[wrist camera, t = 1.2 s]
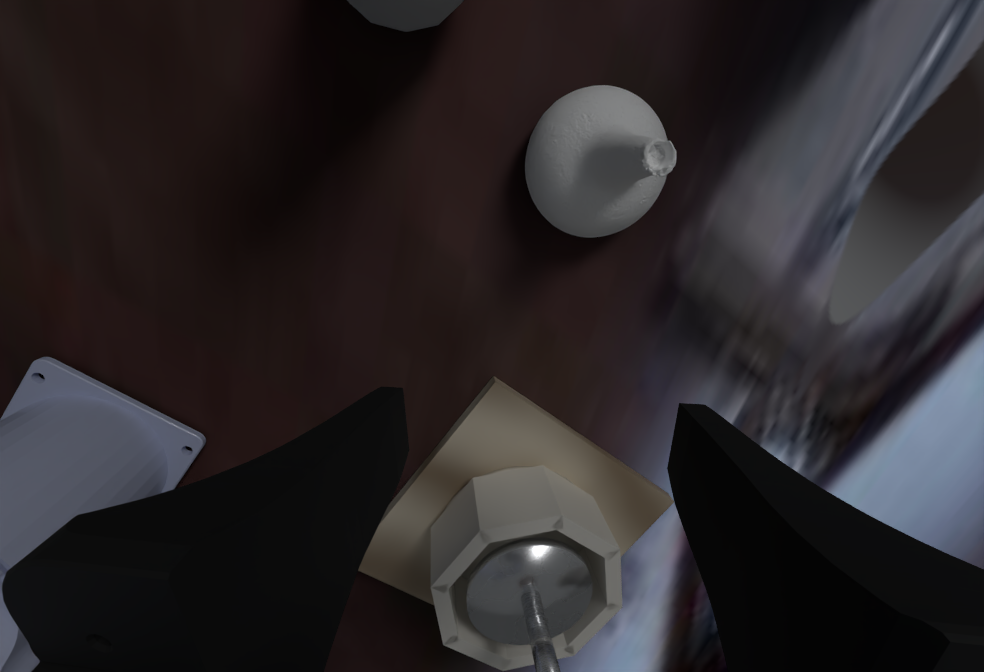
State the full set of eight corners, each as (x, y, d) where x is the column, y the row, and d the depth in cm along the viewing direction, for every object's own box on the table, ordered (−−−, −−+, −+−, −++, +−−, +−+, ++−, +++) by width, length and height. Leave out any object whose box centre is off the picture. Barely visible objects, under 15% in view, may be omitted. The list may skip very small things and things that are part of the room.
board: (528, 638, 31) (530, 650, 30) (349, 554, 27) (346, 564, 26) (667, 493, 28) (674, 501, 28) (493, 375, 24) (495, 381, 24)
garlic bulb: (662, 127, 22) (794, 73, 14) (617, 252, 23) (717, 266, 15) (543, 77, 21) (617, -12, 13) (501, 213, 22) (546, 206, 14)
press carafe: (525, 614, 29) (541, 687, 25) (402, 554, 26) (397, 625, 22) (623, 511, 27) (657, 571, 23) (502, 436, 25) (517, 488, 20)
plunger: (535, 649, 25) (578, 840, 18) (440, 605, 23) (444, 798, 16) (613, 570, 24) (692, 739, 16) (519, 516, 22) (562, 681, 15)
